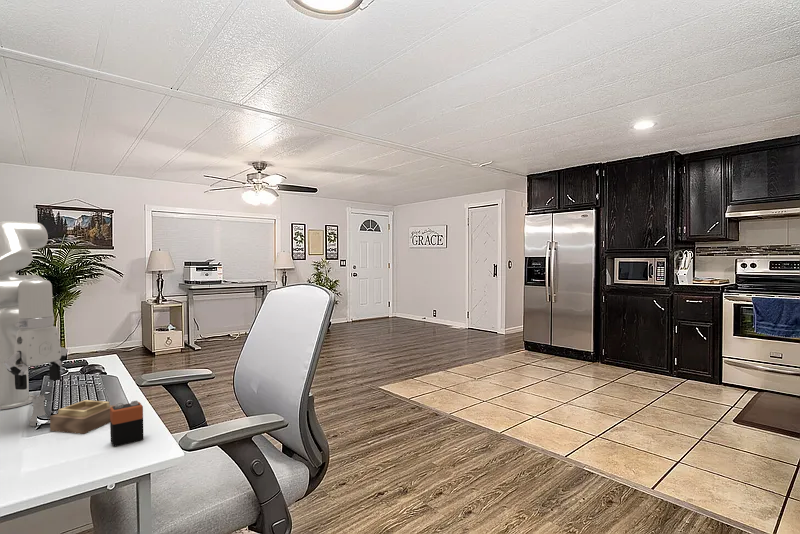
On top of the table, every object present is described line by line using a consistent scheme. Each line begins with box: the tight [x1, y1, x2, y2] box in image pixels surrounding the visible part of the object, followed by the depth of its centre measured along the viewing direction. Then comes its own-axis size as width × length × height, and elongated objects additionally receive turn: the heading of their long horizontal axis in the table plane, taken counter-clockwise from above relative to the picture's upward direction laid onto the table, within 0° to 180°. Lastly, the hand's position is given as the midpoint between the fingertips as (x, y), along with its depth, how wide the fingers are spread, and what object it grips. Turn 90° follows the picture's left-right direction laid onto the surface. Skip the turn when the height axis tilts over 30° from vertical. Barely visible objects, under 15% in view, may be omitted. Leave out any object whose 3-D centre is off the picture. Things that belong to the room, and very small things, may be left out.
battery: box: [109, 400, 144, 447], centre depth 117 cm, size 4×7×10 cm, turn 130°
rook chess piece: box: [28, 394, 47, 427], centre depth 129 cm, size 4×4×8 cm
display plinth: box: [49, 399, 114, 435], centre depth 128 cm, size 11×11×6 cm
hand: (38, 384), depth 128 cm, fingers open, 9 cm apart
